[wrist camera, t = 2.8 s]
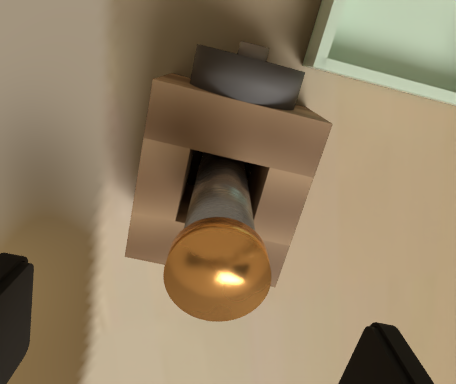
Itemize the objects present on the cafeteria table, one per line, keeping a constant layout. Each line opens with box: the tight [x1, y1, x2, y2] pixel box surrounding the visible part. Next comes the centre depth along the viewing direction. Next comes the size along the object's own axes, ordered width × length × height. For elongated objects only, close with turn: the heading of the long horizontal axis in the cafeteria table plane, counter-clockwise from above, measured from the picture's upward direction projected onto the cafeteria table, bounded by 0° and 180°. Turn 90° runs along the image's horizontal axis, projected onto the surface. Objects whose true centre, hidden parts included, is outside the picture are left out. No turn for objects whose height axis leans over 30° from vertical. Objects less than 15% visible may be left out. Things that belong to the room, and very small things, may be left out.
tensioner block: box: [125, 41, 332, 287], centre depth 21 cm, size 13×9×6 cm
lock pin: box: [164, 152, 271, 321], centre depth 18 cm, size 4×4×14 cm
